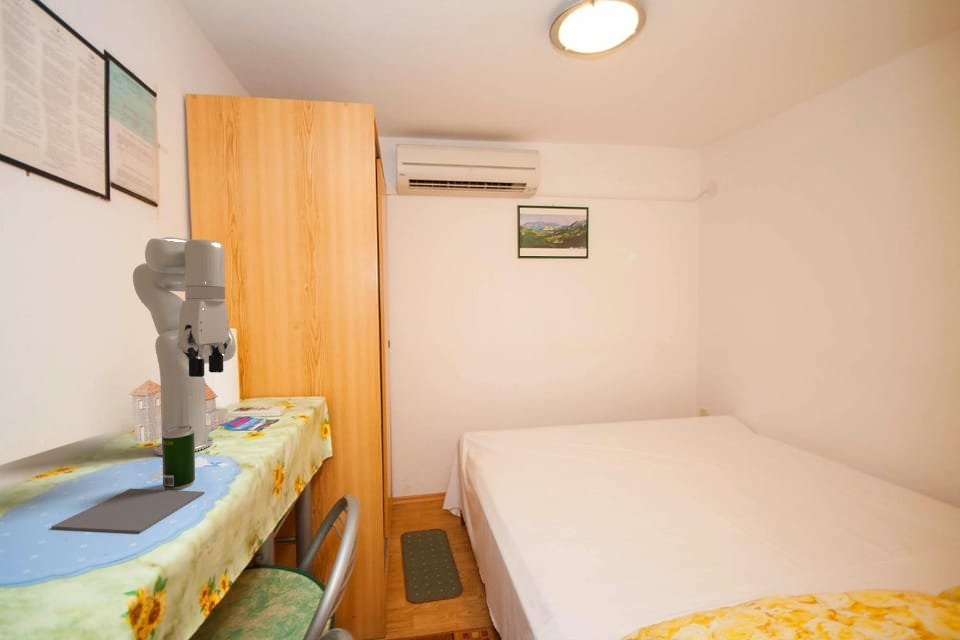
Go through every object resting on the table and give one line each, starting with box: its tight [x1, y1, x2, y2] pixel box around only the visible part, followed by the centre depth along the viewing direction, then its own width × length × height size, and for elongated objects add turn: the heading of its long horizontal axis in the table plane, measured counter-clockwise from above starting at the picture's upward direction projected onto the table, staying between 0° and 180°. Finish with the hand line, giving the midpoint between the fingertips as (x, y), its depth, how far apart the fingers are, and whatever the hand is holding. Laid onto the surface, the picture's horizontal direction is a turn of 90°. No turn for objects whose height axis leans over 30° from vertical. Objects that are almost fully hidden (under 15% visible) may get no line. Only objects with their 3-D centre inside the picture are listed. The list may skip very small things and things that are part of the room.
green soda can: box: [161, 426, 196, 491], centre depth 83 cm, size 5×5×12 cm
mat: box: [51, 488, 205, 534], centre depth 73 cm, size 14×16×1 cm
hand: (206, 373), depth 90 cm, fingers open, 5 cm apart
